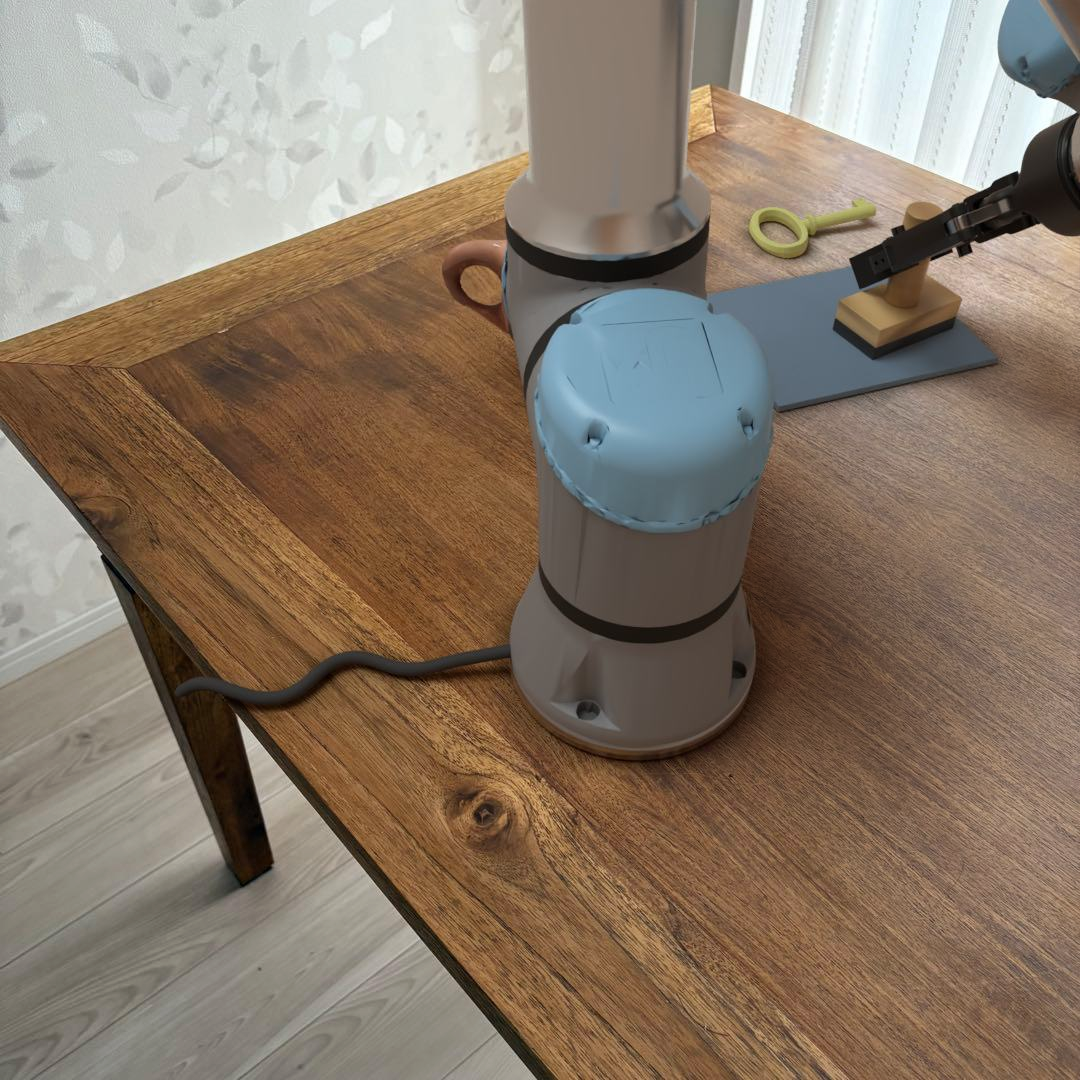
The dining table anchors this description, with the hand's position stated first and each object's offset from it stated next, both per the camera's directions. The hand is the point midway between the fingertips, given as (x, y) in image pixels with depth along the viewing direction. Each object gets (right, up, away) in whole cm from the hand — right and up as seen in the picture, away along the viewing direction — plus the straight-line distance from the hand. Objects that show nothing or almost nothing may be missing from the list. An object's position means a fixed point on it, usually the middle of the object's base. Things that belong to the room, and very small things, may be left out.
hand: (874, 266), depth 93 cm
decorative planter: (-26, -10, -3) cm, 28 cm away
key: (-3, +6, +13) cm, 14 cm away
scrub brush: (+2, -5, +1) cm, 5 cm away
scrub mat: (-2, -5, +2) cm, 6 cm away
